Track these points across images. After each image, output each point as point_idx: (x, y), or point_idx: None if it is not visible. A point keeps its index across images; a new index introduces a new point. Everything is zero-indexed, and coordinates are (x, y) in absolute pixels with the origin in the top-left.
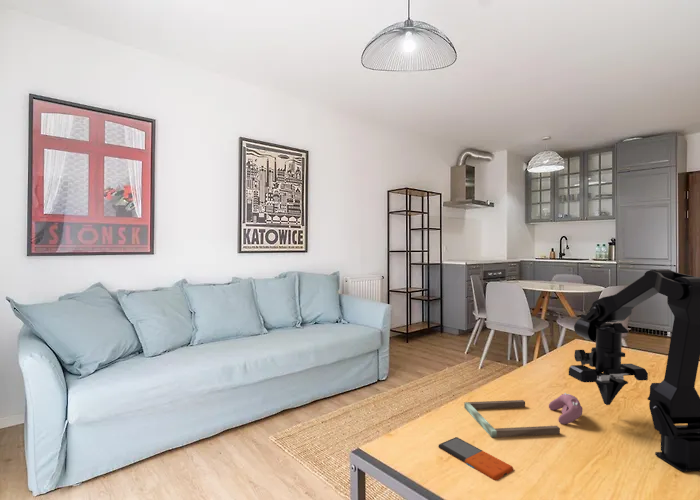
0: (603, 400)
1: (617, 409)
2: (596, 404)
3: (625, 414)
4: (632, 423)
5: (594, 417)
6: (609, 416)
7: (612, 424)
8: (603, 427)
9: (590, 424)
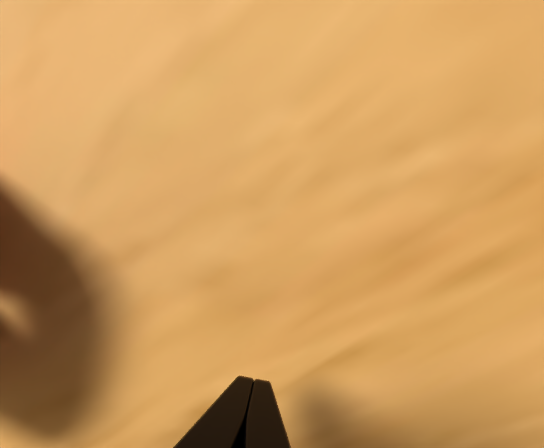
0: (223, 397)
1: (473, 266)
2: (388, 127)
3: (435, 348)
4: (334, 442)
5: (153, 317)
6: (276, 336)
7: (193, 414)
8: (108, 420)
9: (56, 376)
